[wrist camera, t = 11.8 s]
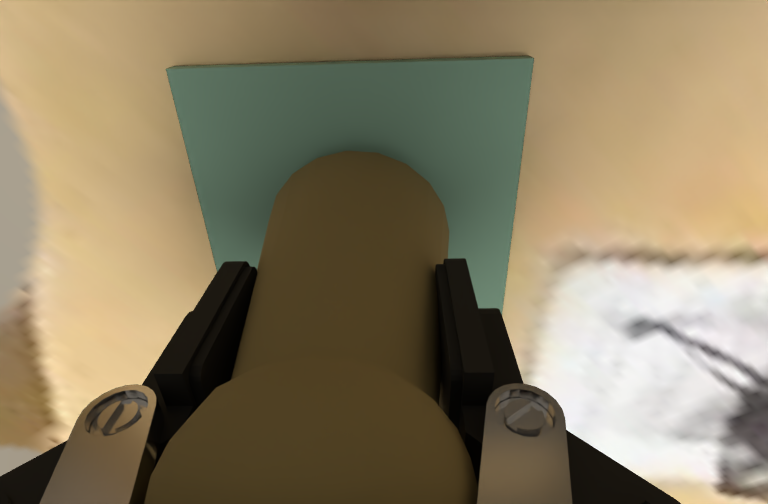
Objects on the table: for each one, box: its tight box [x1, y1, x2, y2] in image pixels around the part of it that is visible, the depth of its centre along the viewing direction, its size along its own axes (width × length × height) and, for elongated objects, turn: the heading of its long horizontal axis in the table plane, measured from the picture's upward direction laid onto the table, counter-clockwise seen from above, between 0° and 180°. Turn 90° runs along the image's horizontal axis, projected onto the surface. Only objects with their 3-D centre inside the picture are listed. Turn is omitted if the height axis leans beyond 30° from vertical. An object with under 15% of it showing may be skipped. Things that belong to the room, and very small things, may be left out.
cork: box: [144, 151, 478, 504], centre depth 10 cm, size 6×6×11 cm
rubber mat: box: [166, 56, 534, 314], centre depth 17 cm, size 11×11×1 cm
